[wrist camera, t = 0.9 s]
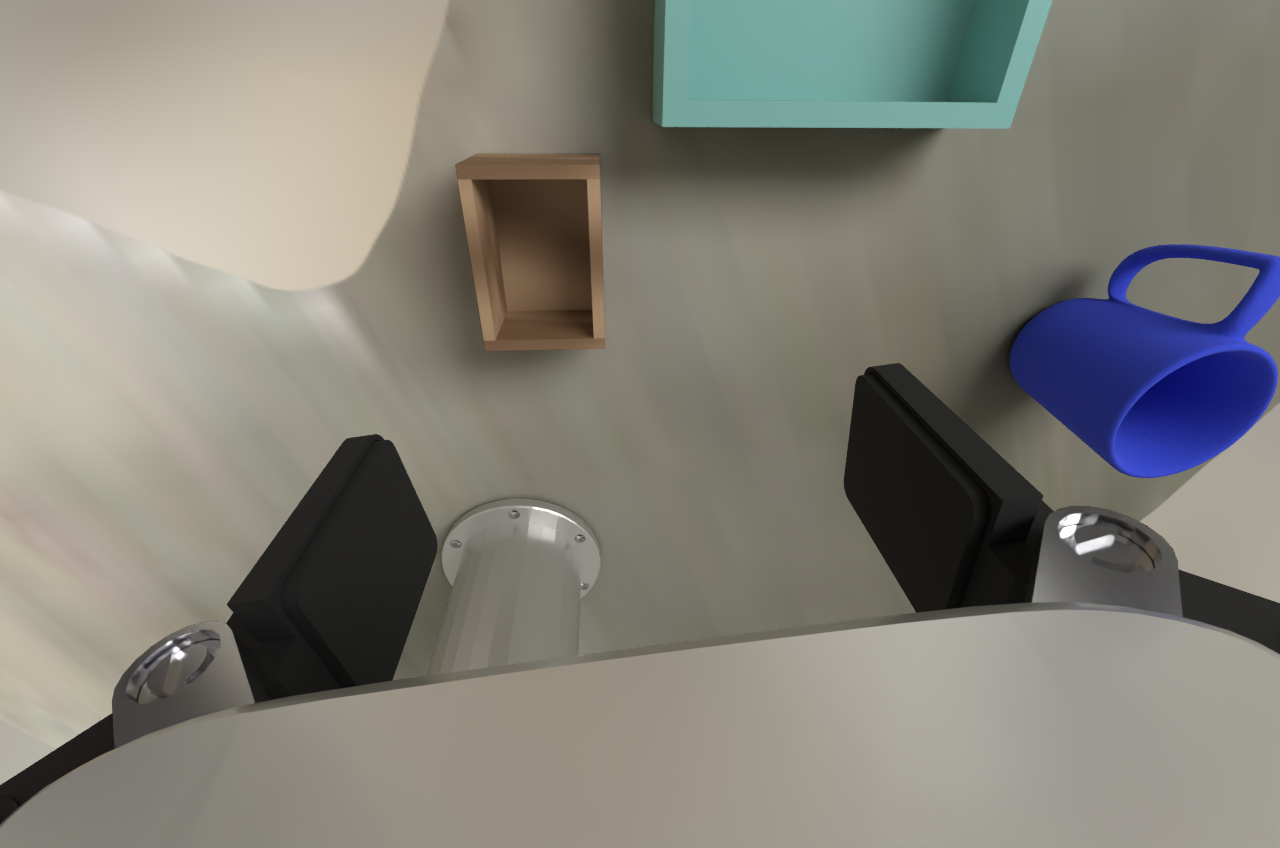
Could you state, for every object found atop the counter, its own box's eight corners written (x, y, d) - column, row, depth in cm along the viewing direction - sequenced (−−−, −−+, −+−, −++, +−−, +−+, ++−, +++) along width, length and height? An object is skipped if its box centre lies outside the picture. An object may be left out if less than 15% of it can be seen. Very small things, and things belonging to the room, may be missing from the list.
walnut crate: (604, 315, 33) (605, 348, 28) (500, 317, 32) (485, 351, 28) (599, 153, 28) (599, 164, 24) (477, 153, 28) (455, 164, 23)
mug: (1183, 229, 32) (1389, 278, 24) (1069, 399, 39) (1202, 485, 30) (1067, 209, 31) (1240, 252, 23) (969, 387, 37) (1077, 473, 29)
